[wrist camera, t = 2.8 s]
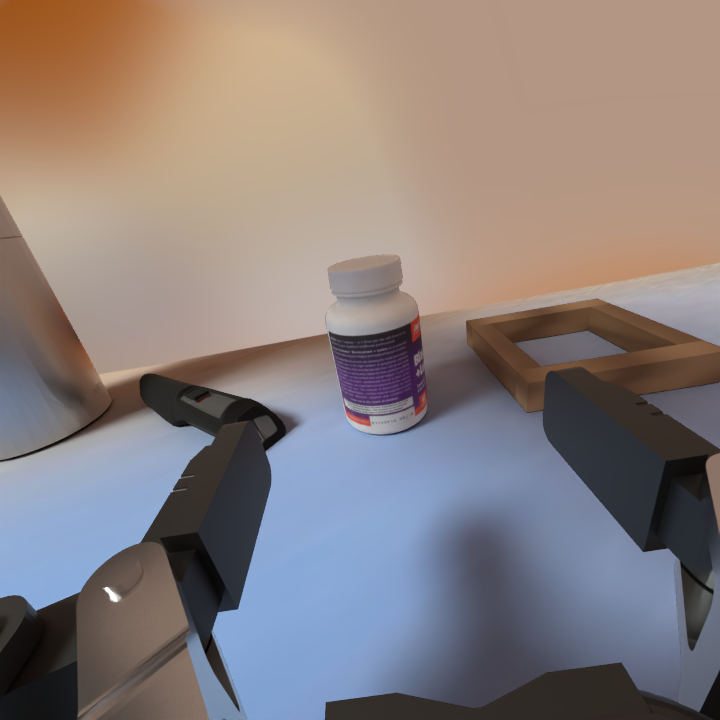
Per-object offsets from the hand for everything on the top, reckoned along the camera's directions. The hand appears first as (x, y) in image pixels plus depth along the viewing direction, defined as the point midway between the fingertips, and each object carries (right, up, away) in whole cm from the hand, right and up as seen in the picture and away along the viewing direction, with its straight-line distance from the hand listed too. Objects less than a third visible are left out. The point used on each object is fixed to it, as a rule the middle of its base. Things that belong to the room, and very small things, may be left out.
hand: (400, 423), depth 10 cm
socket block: (+14, +2, +15) cm, 21 cm away
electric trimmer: (-13, -3, +16) cm, 21 cm away
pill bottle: (+1, -2, +13) cm, 13 cm away
